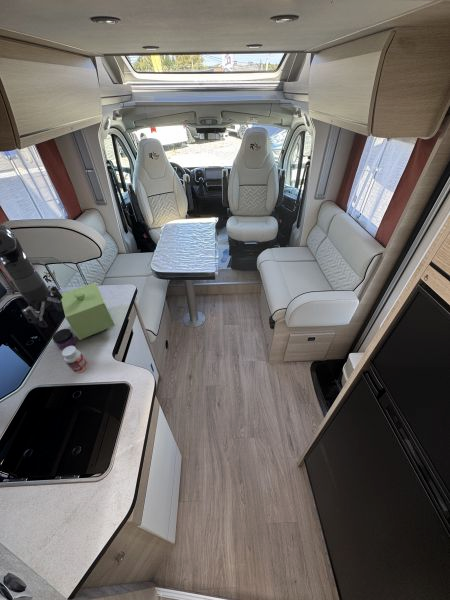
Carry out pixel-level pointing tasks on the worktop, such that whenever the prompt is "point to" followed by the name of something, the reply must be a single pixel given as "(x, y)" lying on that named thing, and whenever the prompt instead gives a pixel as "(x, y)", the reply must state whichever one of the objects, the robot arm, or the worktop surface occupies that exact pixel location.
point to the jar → (67, 343)
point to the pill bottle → (74, 359)
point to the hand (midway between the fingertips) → (53, 318)
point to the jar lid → (62, 336)
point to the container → (86, 311)
